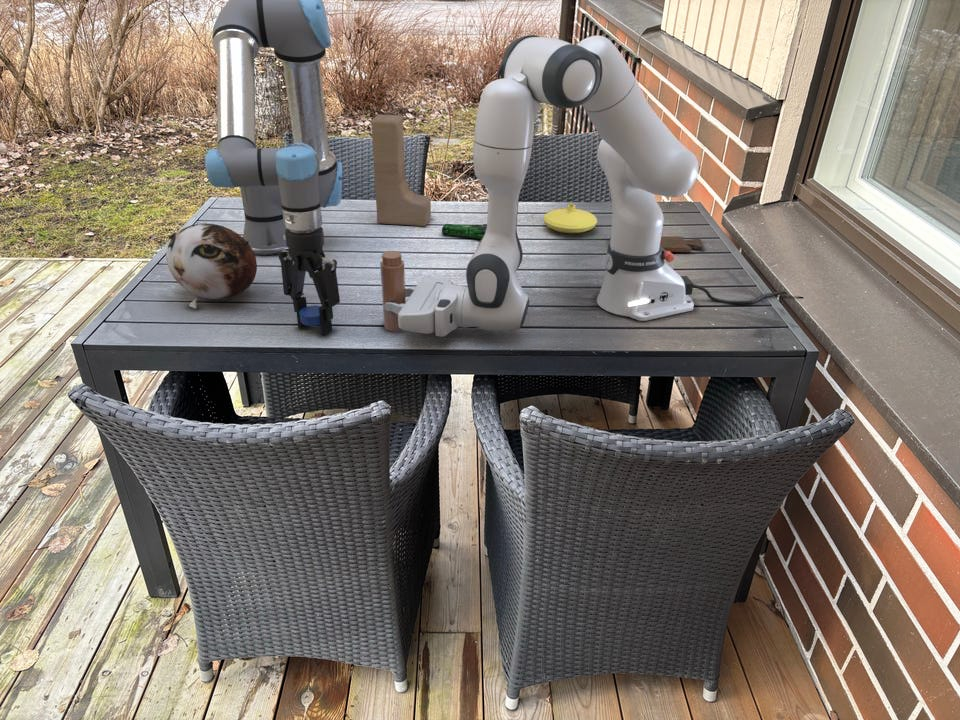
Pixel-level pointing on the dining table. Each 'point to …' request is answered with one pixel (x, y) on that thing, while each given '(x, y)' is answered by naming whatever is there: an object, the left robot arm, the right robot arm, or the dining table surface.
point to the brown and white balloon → (211, 261)
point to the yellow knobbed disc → (570, 220)
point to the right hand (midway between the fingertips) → (390, 299)
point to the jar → (392, 286)
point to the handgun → (465, 230)
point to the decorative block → (394, 176)
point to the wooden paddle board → (679, 244)
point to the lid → (310, 315)
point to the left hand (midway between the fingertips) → (315, 329)
